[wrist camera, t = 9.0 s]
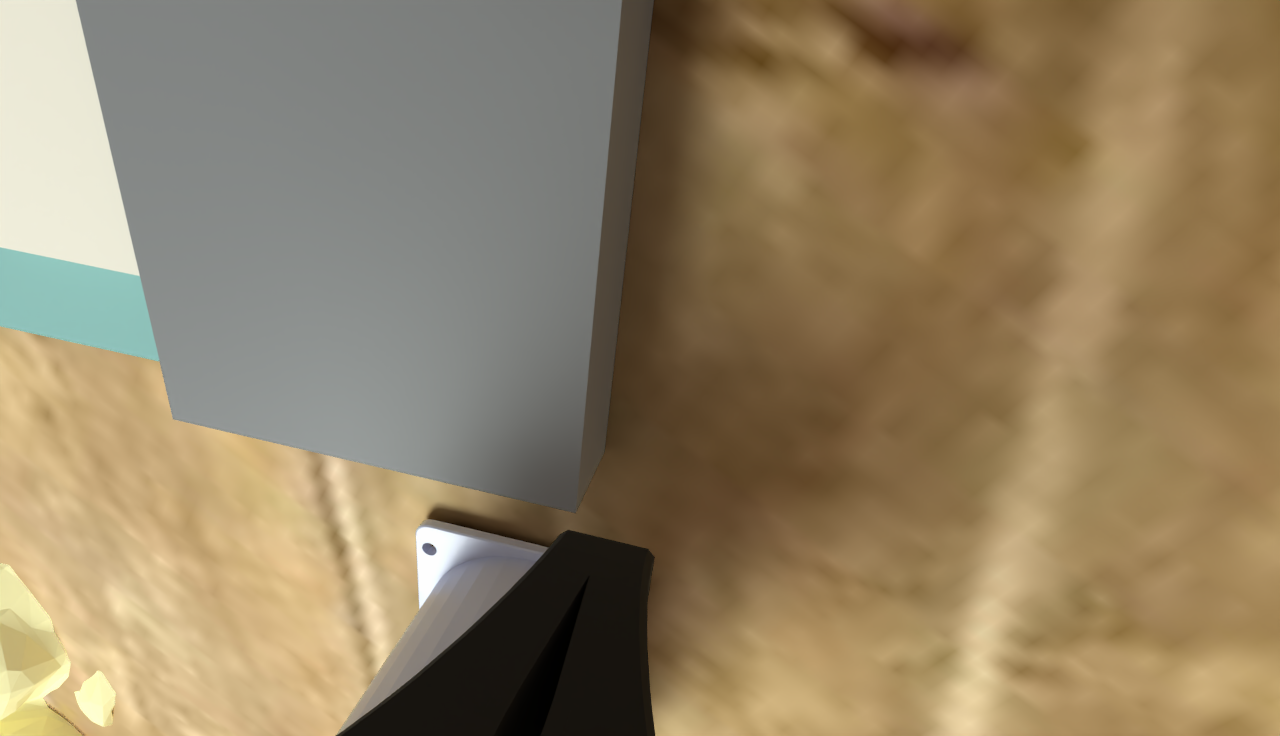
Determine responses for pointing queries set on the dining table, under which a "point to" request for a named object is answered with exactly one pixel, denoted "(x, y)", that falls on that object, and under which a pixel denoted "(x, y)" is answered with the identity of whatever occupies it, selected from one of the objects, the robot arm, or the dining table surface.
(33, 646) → the cloth
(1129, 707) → the dining table surface
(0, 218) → the coaster
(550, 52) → the riser
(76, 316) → the drip mat
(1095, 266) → the dining table surface
